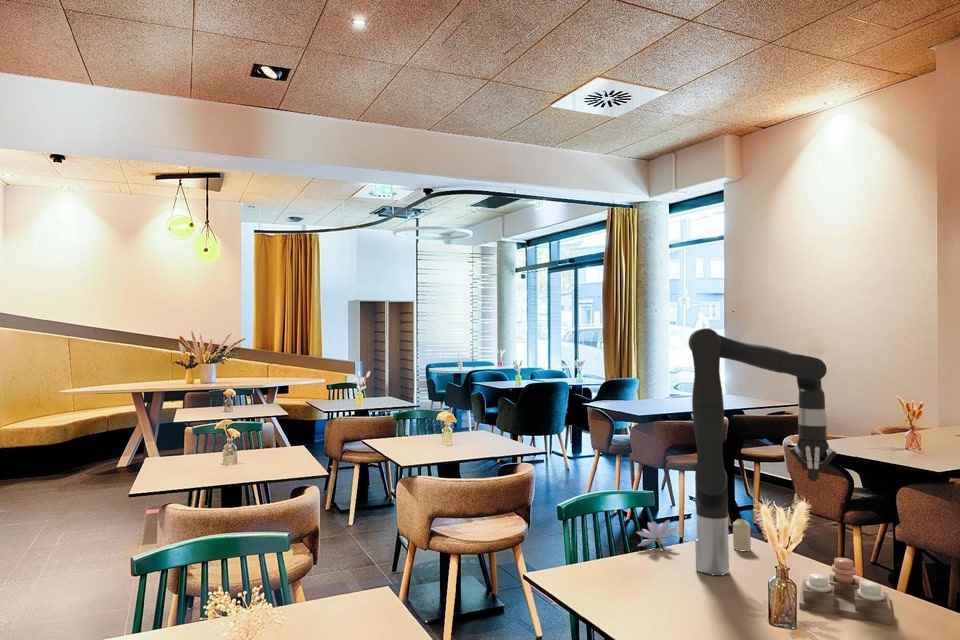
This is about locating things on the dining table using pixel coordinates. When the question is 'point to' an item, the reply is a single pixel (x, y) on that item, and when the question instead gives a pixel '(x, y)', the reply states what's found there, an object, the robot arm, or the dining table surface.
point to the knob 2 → (870, 591)
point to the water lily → (656, 533)
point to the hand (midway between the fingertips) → (813, 481)
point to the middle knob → (843, 570)
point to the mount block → (846, 602)
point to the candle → (741, 535)
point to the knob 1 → (818, 583)
